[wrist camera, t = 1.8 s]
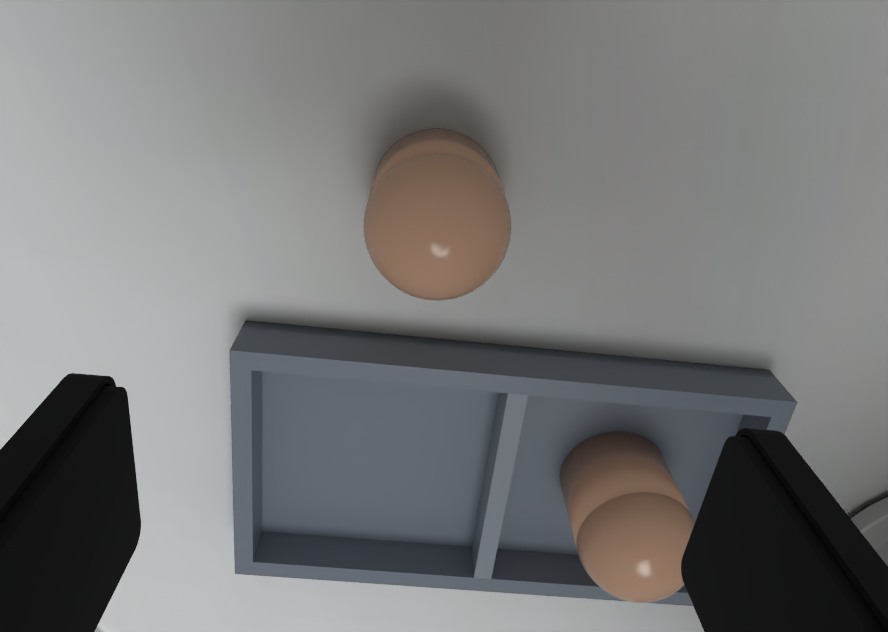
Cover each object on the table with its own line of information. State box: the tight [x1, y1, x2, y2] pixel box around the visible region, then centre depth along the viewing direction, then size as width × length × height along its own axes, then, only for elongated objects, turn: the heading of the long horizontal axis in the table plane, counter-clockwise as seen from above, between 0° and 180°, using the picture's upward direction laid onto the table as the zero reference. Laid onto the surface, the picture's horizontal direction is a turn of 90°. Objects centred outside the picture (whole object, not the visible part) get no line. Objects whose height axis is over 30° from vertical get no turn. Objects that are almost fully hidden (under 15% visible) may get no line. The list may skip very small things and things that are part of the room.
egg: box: [364, 129, 511, 300], centre depth 23 cm, size 5×5×6 cm
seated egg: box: [560, 431, 695, 603], centre depth 28 cm, size 5×5×6 cm
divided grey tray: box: [230, 321, 797, 606], centre depth 30 cm, size 22×12×2 cm, turn 83°
